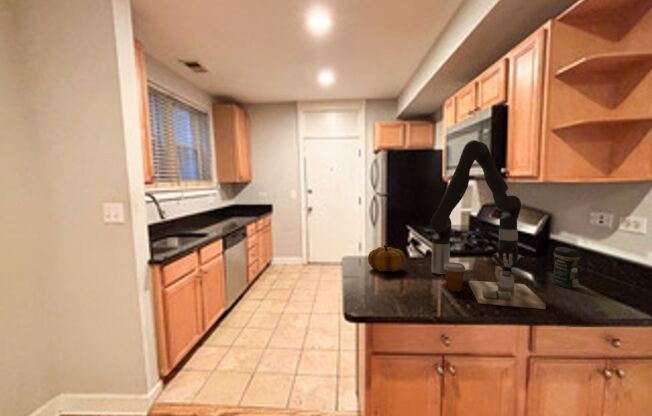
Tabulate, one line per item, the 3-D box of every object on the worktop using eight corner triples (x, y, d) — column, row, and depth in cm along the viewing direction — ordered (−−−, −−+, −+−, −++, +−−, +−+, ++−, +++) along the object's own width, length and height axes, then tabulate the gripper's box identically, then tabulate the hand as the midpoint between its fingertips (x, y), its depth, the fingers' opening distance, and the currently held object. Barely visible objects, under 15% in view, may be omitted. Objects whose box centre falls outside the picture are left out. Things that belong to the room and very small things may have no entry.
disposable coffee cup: (463, 286, 143) (464, 262, 142) (466, 293, 134) (466, 268, 133) (442, 285, 146) (443, 261, 145) (443, 291, 137) (444, 266, 137)
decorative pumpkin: (384, 277, 160) (384, 250, 159) (361, 267, 179) (361, 243, 178) (412, 271, 169) (412, 246, 168) (387, 263, 189) (387, 240, 188)
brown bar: (515, 296, 124) (516, 274, 123) (499, 295, 126) (500, 273, 125) (504, 282, 142) (505, 262, 141) (490, 281, 144) (491, 262, 143)
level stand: (478, 303, 124) (479, 291, 123) (468, 284, 147) (469, 274, 146) (545, 309, 117) (546, 296, 116) (524, 288, 140) (524, 277, 139)
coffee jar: (548, 282, 147) (550, 246, 145) (562, 281, 148) (564, 245, 146) (567, 289, 137) (569, 250, 136) (581, 288, 138) (583, 249, 137)
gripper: (490, 238, 137) (490, 274, 139) (524, 240, 130) (524, 279, 131) (493, 236, 143) (493, 271, 145) (525, 238, 136) (525, 275, 137)
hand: (508, 274), depth 138 cm, fingers closed
